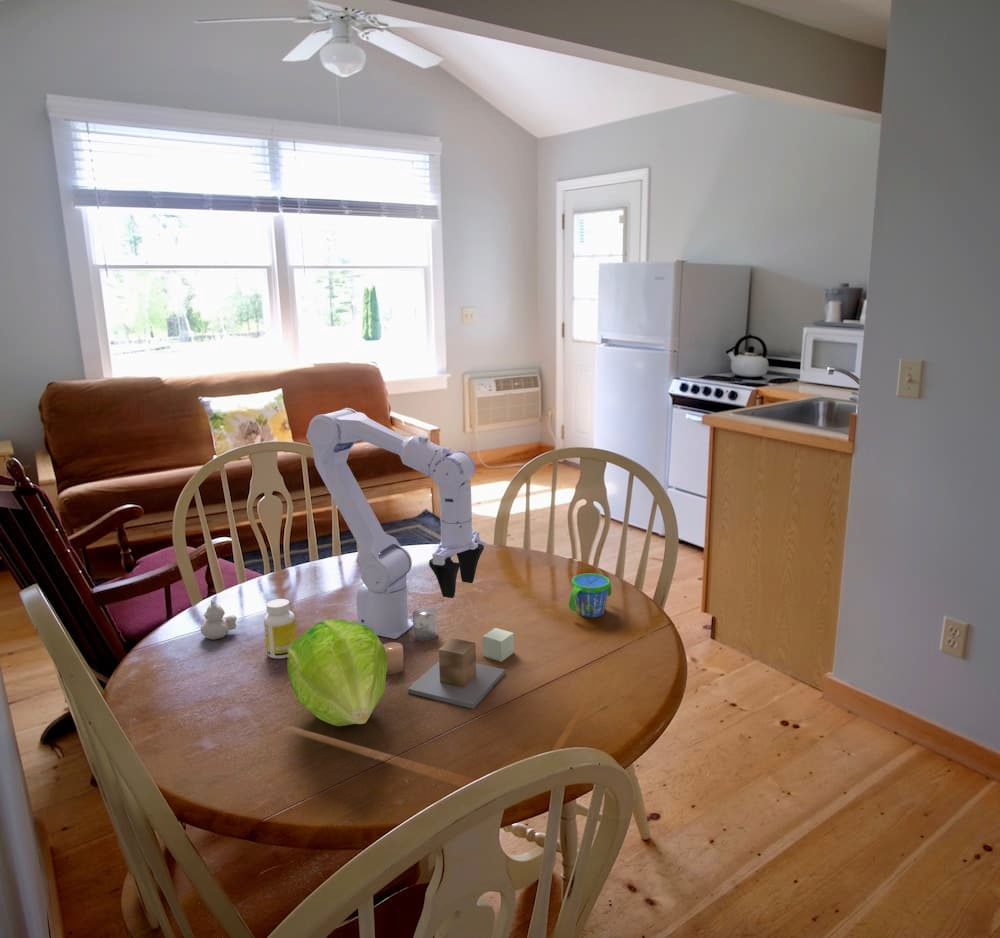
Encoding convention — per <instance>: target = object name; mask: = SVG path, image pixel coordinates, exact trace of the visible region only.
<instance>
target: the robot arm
mask: <svg viewBox="0 0 1000 938" xmlns="http://www.w3.org/2000/svg"><path fill="white" fill-rule="evenodd" d="M305 436H306V439H307V441H308V443H309V445H310V446H311V448H312V449H311V450H312V454H313V455H312V456H313V461H314V465H315V466H314V467H315V468H316V470H317V472H318V474H319V476H320V477H321V479H322V481H323V483H324V485H325V487H326V488H327V490H328V492H329V494H330V496H331V497H332V500H333V501H334V503H335V505H336V506H337V509H338V510H339V512H340V514H341V516H342V517H343V519H344V521H345V523H346V525H347V527H348V528H349V530H350V532H351V534H352V536H353V538H354V540H355V541H356V543H357V545H358V551H357V552H358V553H357V556H356V564H357V565H358V567H359V570H360V578H361V581H362V584H361V585H360V586H359V588H358V591H357V593H356V616H357V623H359V624H362V625H365V626H367V627H369V628H371V629H372V630H373V631H374V632H375V634H376V635H377V637H384V638H390V639H393V640H396V639H398V638H400V637H401V636H403V635H404V634H405V633H406V632H407V631H409V630H410V629H412V628H413V619H410V618H409V612H408V611H409V610H408V592H407V591H408V590H407V580H408V579H407V574H409V572H410V571H411V569H412V565H413V563H412V562H413V561H412V560H413V559H412V557H411V555H410V553H409V552H408V551H407V550H406V548H405V547H403V546H402V545H401V544H400V543H399V542H398V540H397V539H398V538H397V537H394V536H392V535H390V534H389V533H388V534H387V532H385V531H384V529H383V527H382V525H381V523H380V522H379V519H378V518H377V516H376V514H375V513H374V511H373V508H372V507H371V505H370V503H369V502H368V500H367V498H366V496H365V494H364V492H363V490H362V489H361V487H360V485H359V483H358V481H357V479H356V477H355V476H354V474H353V472H352V469H351V468H350V466H349V465H348V463H347V460H348V457H349V454H350V451H351V449H352V448H353V446H354V445H355V444H356V442H358V441H359V442H360V441H363V442H366V443H369V444H371V445H373V446H376V447H378V448H381V449H383V450H386V451H389V452H390V453H393V454H396V455H398V456H399V457H400V460H401V463H402V464H403V465H405V466H406V467H408V468H412V469H413V470H416V471H418V472H419V473H421V474H424V475H426V476H428V477H430V478H432V479H433V480H434V482H435V484H436V485H437V487H438V490H439V511H440V513H439V517H440V518H439V519H440V542H439V544H438V546H437V547H436V550H435V551H434V552H433V553H432V558H431V559H430V560H429V561H428V566H429V568H431V570H432V572H433V573H434V575H435V577H436V579H437V582H438V585H439V588H440V592H441V595H442V597H443V598H449V599H453V598H454V597H455V594H456V590H457V589H456V588H457V587H456V585H457V584H456V583H457V578H458V572H460V579H461V582H462V583H467V584H473V583H474V580H475V577H476V571H477V567H478V564H479V563H478V562H479V559H480V557H481V555H482V553H483V551H484V549H485V546H484V544H481V543H478V542H480V531H479V530H478V531H477V530H473V514H472V513H473V511H472V509H473V508H472V483H471V482H472V481H471V479H472V478H473V477H474V475H475V473H476V463H475V460H474V458H473V457H472V456H471V455H470V454H468V453H466V452H465V451H464V450H455V451H451V448H450V447H448V446H445V447H442V446H441V445H438V444H436V443H435V442H432V441H430V440H429V437H428V436H426V435H424V434H422V435H413V436H411V437H408V438H407V437H406V436H403V434H400V433H398V432H396V431H394V430H392V429H390V428H388V427H386V426H385V425H382V424H381V423H379V422H377V421H375V420H374V419H371V418H369V417H368V416H367V415H366V414H365V412H360V411H356V410H355V409H353V408H350V407H345V408H342V409H340V410H337V411H332V412H328V413H325V414H324V413H322V414H318V415H315V416H314V417H313V418H312V419H311V420H310V422H309V425H308V428H307V432H306V435H305ZM455 555H456V557H457V559H458V562H457V561H456V562H455V561H453V559H452V558H453V557H454V556H455Z"/></svg>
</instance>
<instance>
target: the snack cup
mask: <svg viewBox="0 0 1000 938" xmlns="http://www.w3.org/2000/svg"><path fill="white" fill-rule="evenodd" d="M570 583H571V585H572V588H571V592H570V596H569V599H568V607H569V609H570V610H571V611H573V612H577V614H579V616H582V617H585V618H597V617H600V616H603V615H604V614H605V610H606V606H607V598H608V597H609V596H611V595H612V584H611V580H610V579H609V578H608V577H607V576H605V575H603V574H598V573H592V572H591V573H590V572H589V573H587V572H586V573H579V574H577V575H575V576H574V577H572V579H571V580H570Z"/></svg>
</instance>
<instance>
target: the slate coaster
mask: <svg viewBox="0 0 1000 938" xmlns="http://www.w3.org/2000/svg"><path fill="white" fill-rule="evenodd" d="M504 675H506V669H504V668H500V667H495V666H490V665H486V664H481V663H477V662H476V676H475V677H474V678H473V679H472V680H471V681H470V683H469V684H468V685H467V686H466V687H465V688H461V687H457V686H453V685H448V684H444V683H440V669H439V660H438V661H437V662H435V664H433V665H432V666H431V667H430V668H429V669H428V670H427V671H426V672H425V673H424V674H422V675H421V676H420V677H419V678H418V679H416V681H415V682H413V683H412V685H410V686H409V687H408V688H407V692H408V694H411V695H415V696H419V697H422V698H423V697H424V698H427V699H431V700H436V701H439V702H444V703H448V704H452V705H456V706H460V707H465V708H469V709H472V710H474V709H475V708H476V707H477V706H478V705H479V703H481V701H482V700H483V699H484V698H485V697H486V695H487V694H488V693H489V692H490V691H491V690H492V689H493V688H494V686H495V685H496V684H497V683H498V682H500V680H501V679H502V678H503V677H504Z"/></svg>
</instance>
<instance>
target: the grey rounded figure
mask: <svg viewBox="0 0 1000 938" xmlns="http://www.w3.org/2000/svg"><path fill="white" fill-rule="evenodd" d="M224 615H226V612H225V610H224V608H223V607H222V606H221V605H220V604H217V603H216V602H215V601H213V600H212V599H210V604H209V605H208V606H207V608H206V611H205V612H204V613H203V617H204V618H205V621H204V622H203V624H202V625H201V626H200V633H201V634H202V636H204V637H205V638H206V639H208V640H211V639H212V640H211V641H213V640H219V639H223V638H224V637H225V636H226V635H227V634H228V633H229V631H231V630H235V629H236V628H237V624H236V621H237V616H236V615H235V614H234V615H227V616H226V617H225V616H224Z"/></svg>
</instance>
